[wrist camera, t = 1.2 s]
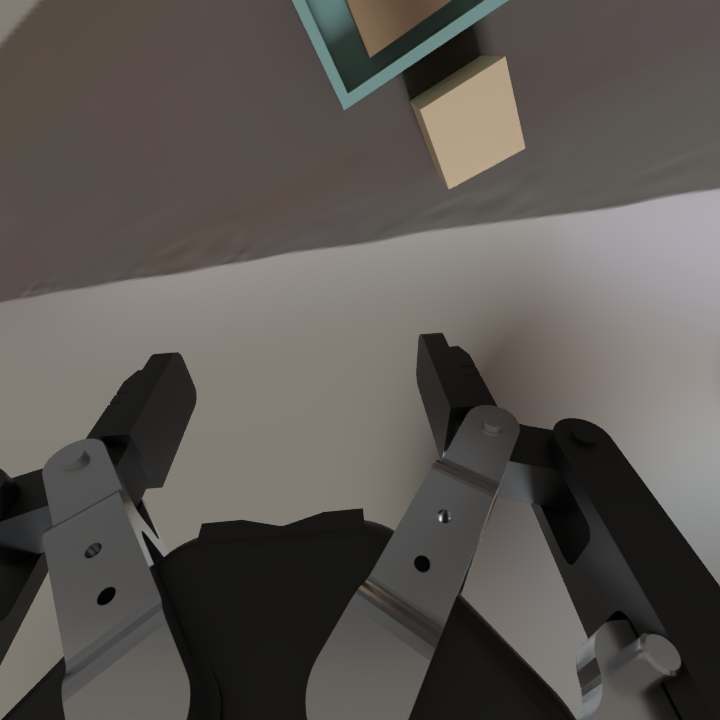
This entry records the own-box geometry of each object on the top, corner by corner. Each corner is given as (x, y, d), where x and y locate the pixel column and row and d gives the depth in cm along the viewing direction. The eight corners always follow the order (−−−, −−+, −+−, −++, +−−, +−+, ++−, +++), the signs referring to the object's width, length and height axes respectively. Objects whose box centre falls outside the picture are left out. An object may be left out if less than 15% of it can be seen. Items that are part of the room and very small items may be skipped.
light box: (480, 55, 24) (505, 56, 20) (500, 134, 26) (525, 148, 23) (409, 100, 25) (420, 109, 21) (435, 170, 28) (448, 189, 24)
